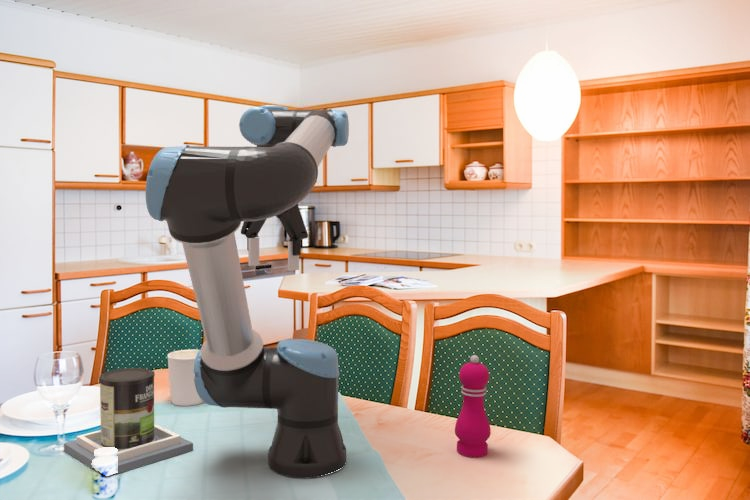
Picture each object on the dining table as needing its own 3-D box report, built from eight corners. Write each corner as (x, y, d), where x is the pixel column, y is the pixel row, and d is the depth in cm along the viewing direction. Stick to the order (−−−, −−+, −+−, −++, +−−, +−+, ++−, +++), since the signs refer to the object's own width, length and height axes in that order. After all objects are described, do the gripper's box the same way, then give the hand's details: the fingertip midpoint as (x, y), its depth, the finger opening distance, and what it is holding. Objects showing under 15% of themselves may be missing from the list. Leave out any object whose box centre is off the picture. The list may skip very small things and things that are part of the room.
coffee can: (164, 436, 135) (164, 369, 134) (136, 455, 125) (135, 383, 124) (120, 431, 137) (119, 365, 136) (89, 450, 127) (87, 378, 126)
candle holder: (216, 399, 165) (216, 352, 164) (186, 409, 157) (186, 360, 156) (189, 393, 170) (189, 347, 170) (159, 402, 162) (158, 354, 161)
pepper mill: (447, 447, 135) (450, 352, 134) (477, 443, 138) (480, 349, 136) (466, 460, 129) (468, 360, 127) (497, 455, 131) (499, 357, 130)
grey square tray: (193, 450, 132) (193, 435, 132) (106, 477, 118) (105, 461, 118) (147, 428, 144) (147, 415, 144) (64, 450, 130) (63, 436, 130)
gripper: (324, 175, 144) (323, 270, 146) (250, 176, 160) (250, 262, 161) (299, 174, 138) (299, 273, 140) (225, 175, 154) (226, 264, 156)
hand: (273, 267), depth 151 cm, fingers open, 13 cm apart
